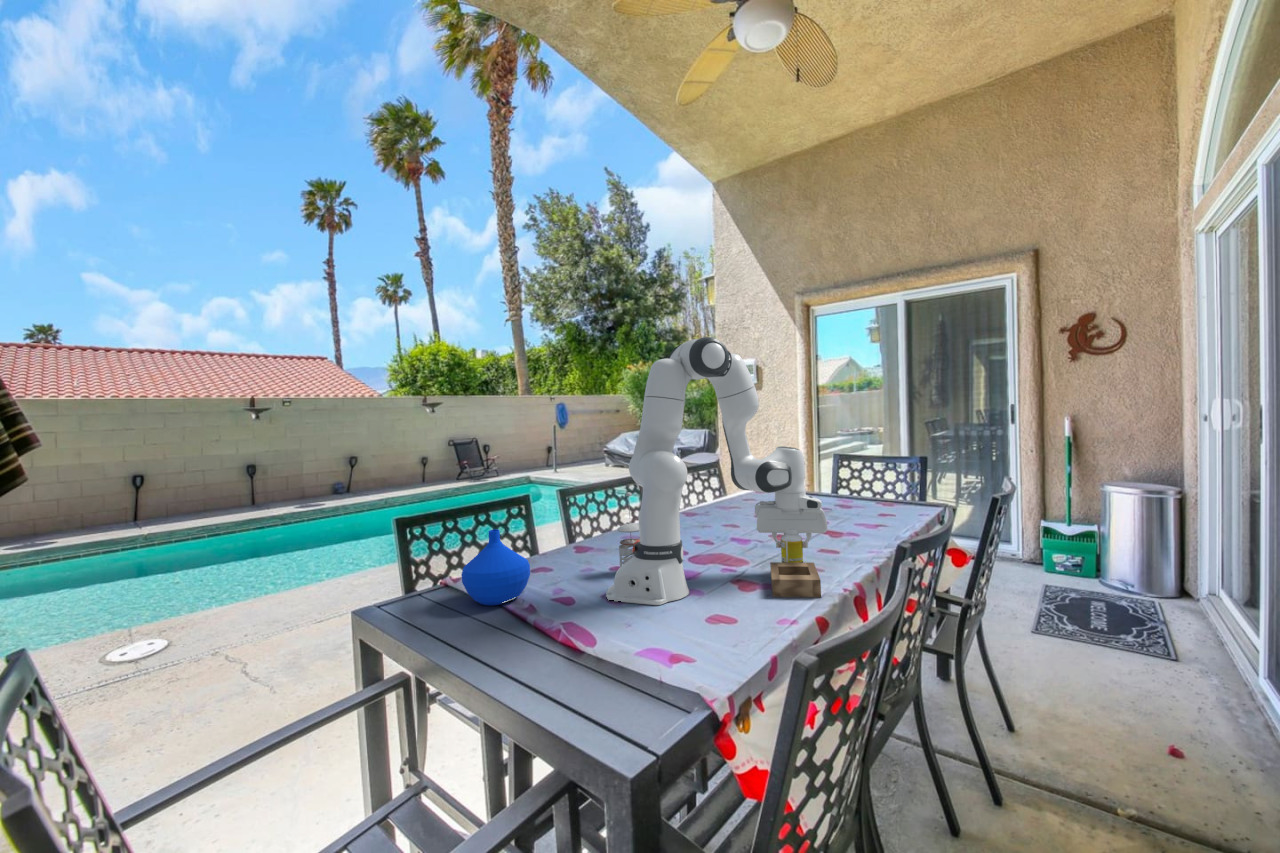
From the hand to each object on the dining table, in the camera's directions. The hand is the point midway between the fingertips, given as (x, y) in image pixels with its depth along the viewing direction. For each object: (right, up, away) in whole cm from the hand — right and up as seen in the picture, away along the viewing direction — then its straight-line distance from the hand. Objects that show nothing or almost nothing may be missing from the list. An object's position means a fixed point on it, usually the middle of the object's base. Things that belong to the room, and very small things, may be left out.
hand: (791, 547), depth 162 cm
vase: (-84, -12, -11) cm, 86 cm away
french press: (-46, -10, +8) cm, 48 cm away
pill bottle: (0, -5, 0) cm, 5 cm away
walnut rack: (-3, -8, -14) cm, 16 cm away
